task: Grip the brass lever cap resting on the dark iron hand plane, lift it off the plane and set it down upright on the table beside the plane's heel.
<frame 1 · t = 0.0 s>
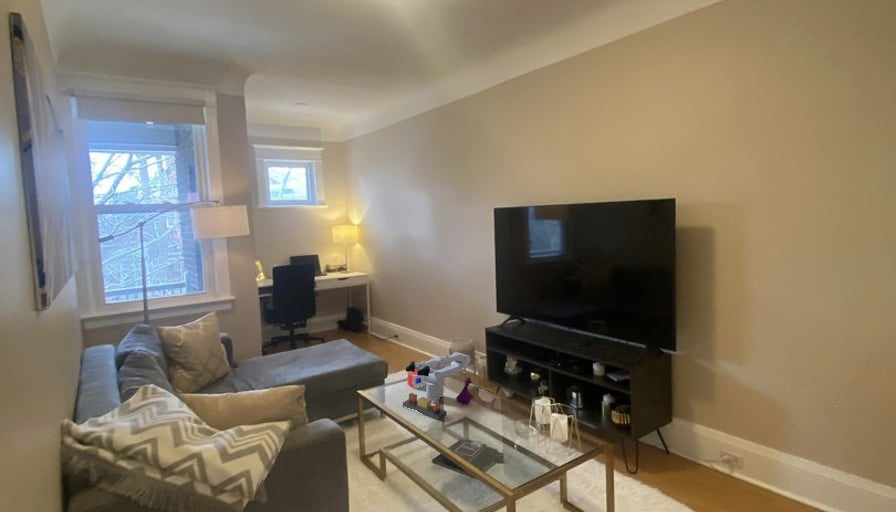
hand: (411, 371, 247), 22 cm above the table, tool horizontal, fingers open, 7 cm apart
lever cap: (424, 406, 250), point 2 cm above the table, touching hand plane
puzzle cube: (416, 385, 282), on the table
perfume bottle: (464, 403, 262), on the table
hand plane: (424, 411, 250), on the table
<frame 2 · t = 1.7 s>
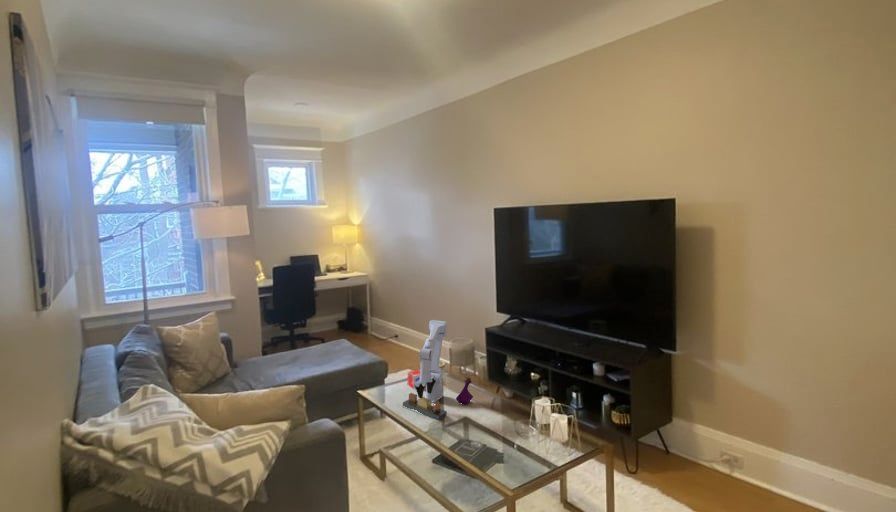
hand: (424, 395, 249), 9 cm above the table, tool pointing down, fingers open, 7 cm apart
nothing on the table moved.
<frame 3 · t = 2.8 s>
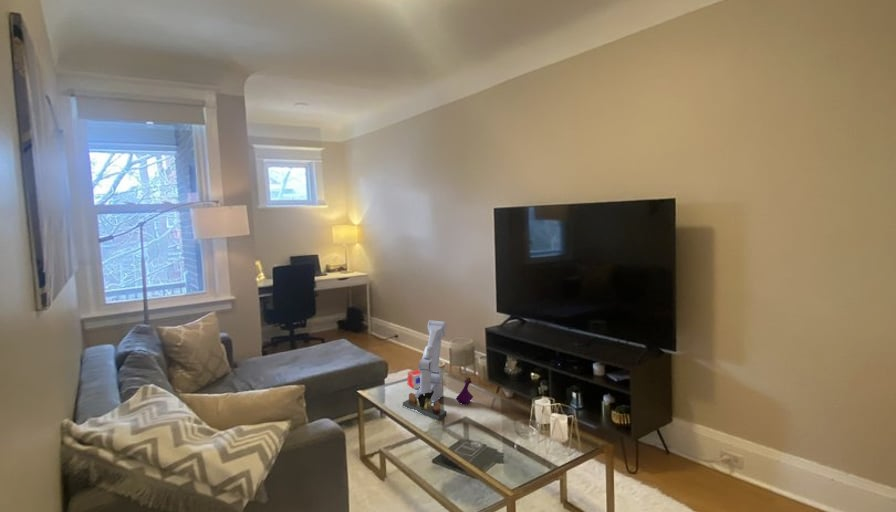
hand: (424, 405, 249), 3 cm above the table, tool pointing down, fingers closed on lever cap, 4 cm apart
lever cap: (424, 406, 250), point 2 cm above the table, touching gripper, hand plane
everything else where it was.
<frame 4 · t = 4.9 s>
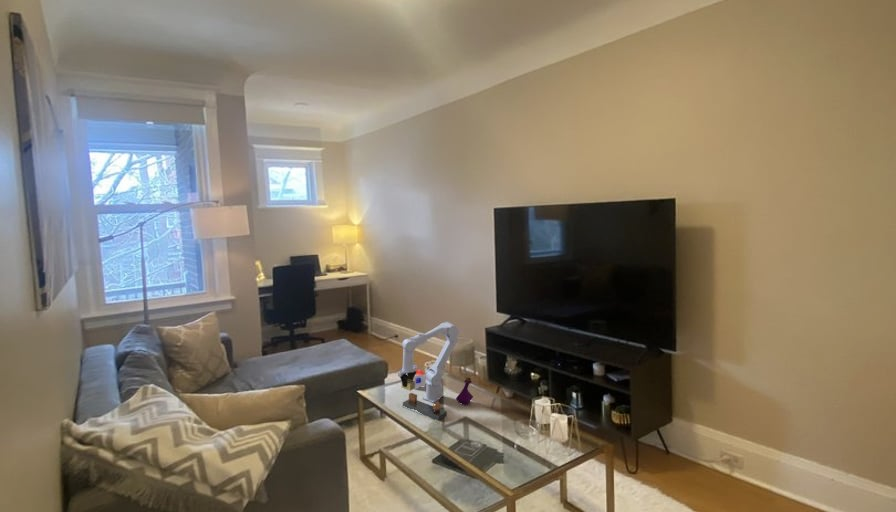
hand: (407, 385, 257), 10 cm above the table, tool pointing down, fingers closed on lever cap, 4 cm apart
lever cap: (408, 387, 257), point 9 cm above the table, touching gripper
everything else where it was.
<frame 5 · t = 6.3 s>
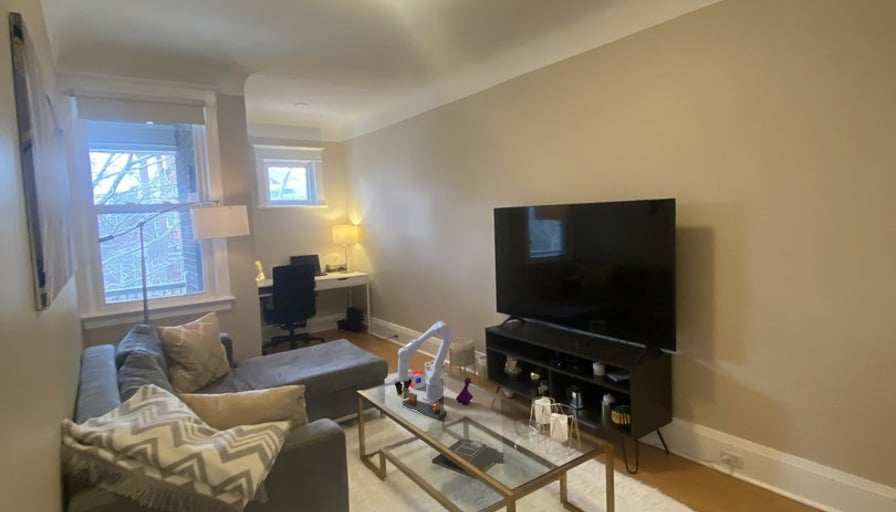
hand: (402, 393, 260), 4 cm above the table, tool pointing down, fingers closed on lever cap, 4 cm apart
lever cap: (403, 396, 260), point 3 cm above the table, touching gripper
everything else where it was.
when the fingers open (2 cm above the table, at t = 7.2 s): lever cap stays where it is, on the table.
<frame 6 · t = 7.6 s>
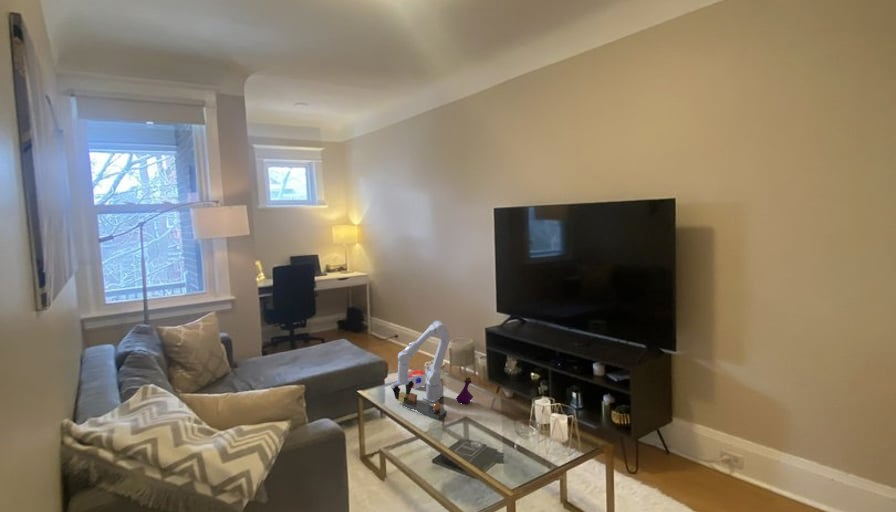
hand: (402, 396, 261), 2 cm above the table, tool pointing down, fingers open, 7 cm apart
lever cap: (403, 401, 261), on the table
everything else where it was.
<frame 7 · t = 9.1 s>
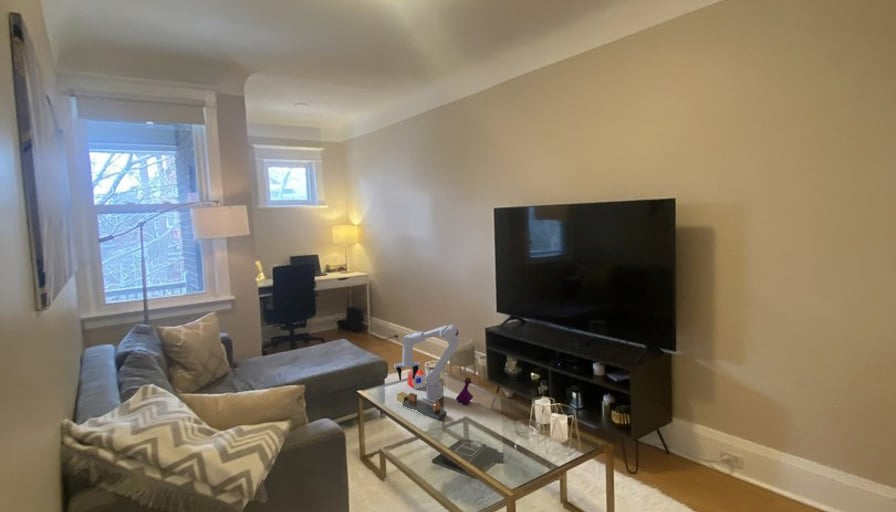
hand: (406, 379, 267), 9 cm above the table, tool pointing down, fingers open, 7 cm apart
nothing on the table moved.
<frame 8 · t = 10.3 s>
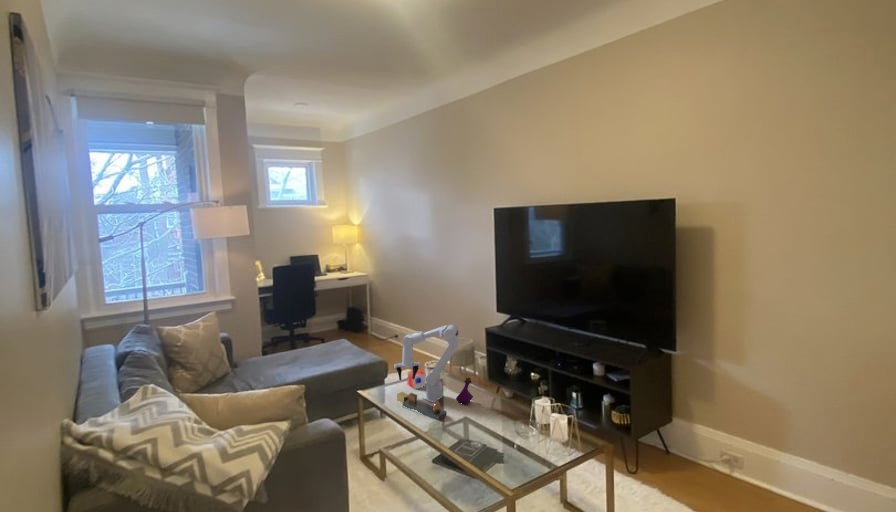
hand: (406, 379, 267), 9 cm above the table, tool pointing down, fingers open, 7 cm apart
nothing on the table moved.
at the end: lever cap inside the target area (0.7 cm from its centre), on the table; lever cap tilted 0°; lever cap touching table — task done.
